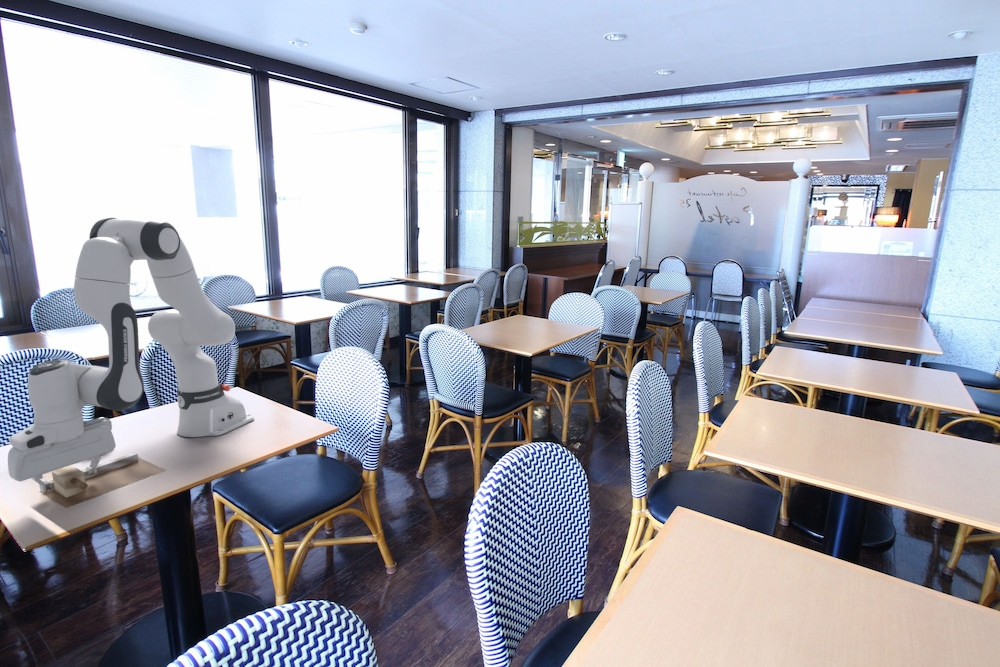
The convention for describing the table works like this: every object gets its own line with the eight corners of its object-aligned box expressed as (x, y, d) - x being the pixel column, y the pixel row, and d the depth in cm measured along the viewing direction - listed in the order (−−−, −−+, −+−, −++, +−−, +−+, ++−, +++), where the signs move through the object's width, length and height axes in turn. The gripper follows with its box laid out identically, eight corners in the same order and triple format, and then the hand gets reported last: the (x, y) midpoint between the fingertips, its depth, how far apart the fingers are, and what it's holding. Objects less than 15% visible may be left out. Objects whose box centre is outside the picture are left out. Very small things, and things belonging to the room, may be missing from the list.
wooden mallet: (74, 483, 130) (71, 465, 129) (96, 496, 125) (93, 477, 124) (54, 490, 127) (51, 471, 126) (76, 503, 122) (73, 484, 121)
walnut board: (138, 462, 146) (137, 449, 145) (166, 475, 139) (165, 462, 138) (40, 496, 127) (38, 482, 126) (67, 513, 120) (64, 498, 119)
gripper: (103, 412, 134) (111, 461, 137) (-1, 440, 117) (10, 496, 120) (116, 417, 131) (123, 467, 134) (11, 447, 114) (22, 504, 117)
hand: (69, 481), depth 127 cm, fingers open, 8 cm apart
